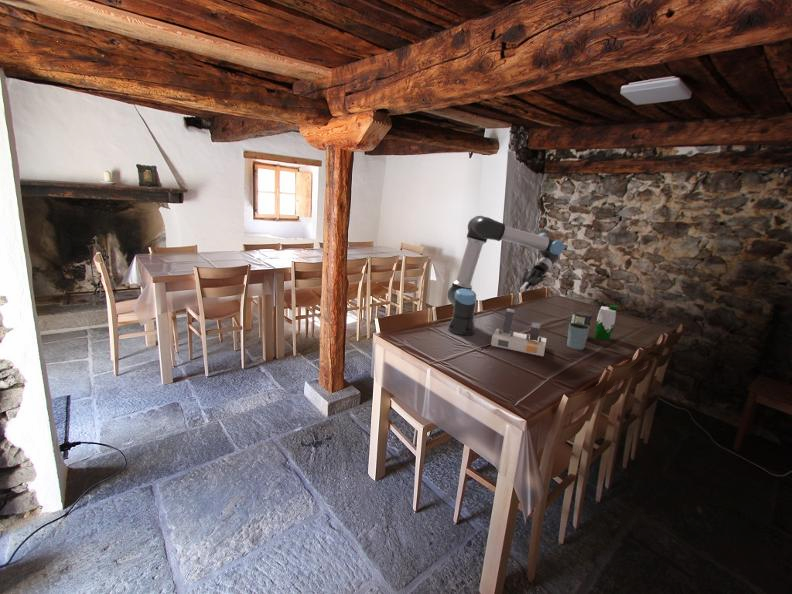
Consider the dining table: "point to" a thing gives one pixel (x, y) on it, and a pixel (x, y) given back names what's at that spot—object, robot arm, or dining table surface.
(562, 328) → the dining table surface
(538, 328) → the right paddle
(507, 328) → the left paddle
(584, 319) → the coffee can
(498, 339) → the console
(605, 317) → the milk carton
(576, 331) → the drinking glass
